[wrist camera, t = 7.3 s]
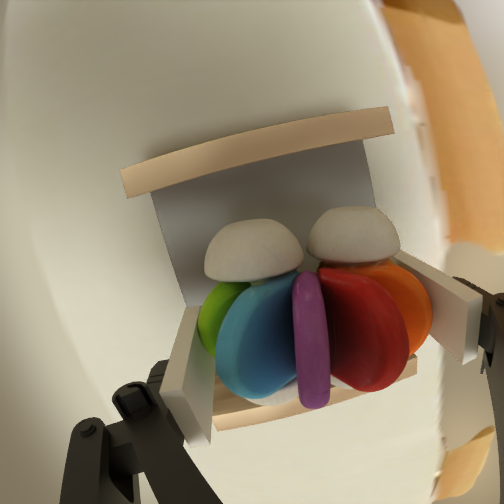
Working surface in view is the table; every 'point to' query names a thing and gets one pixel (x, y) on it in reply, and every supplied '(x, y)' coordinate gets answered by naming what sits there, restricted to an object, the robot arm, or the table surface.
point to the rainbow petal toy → (311, 308)
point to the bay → (259, 208)
